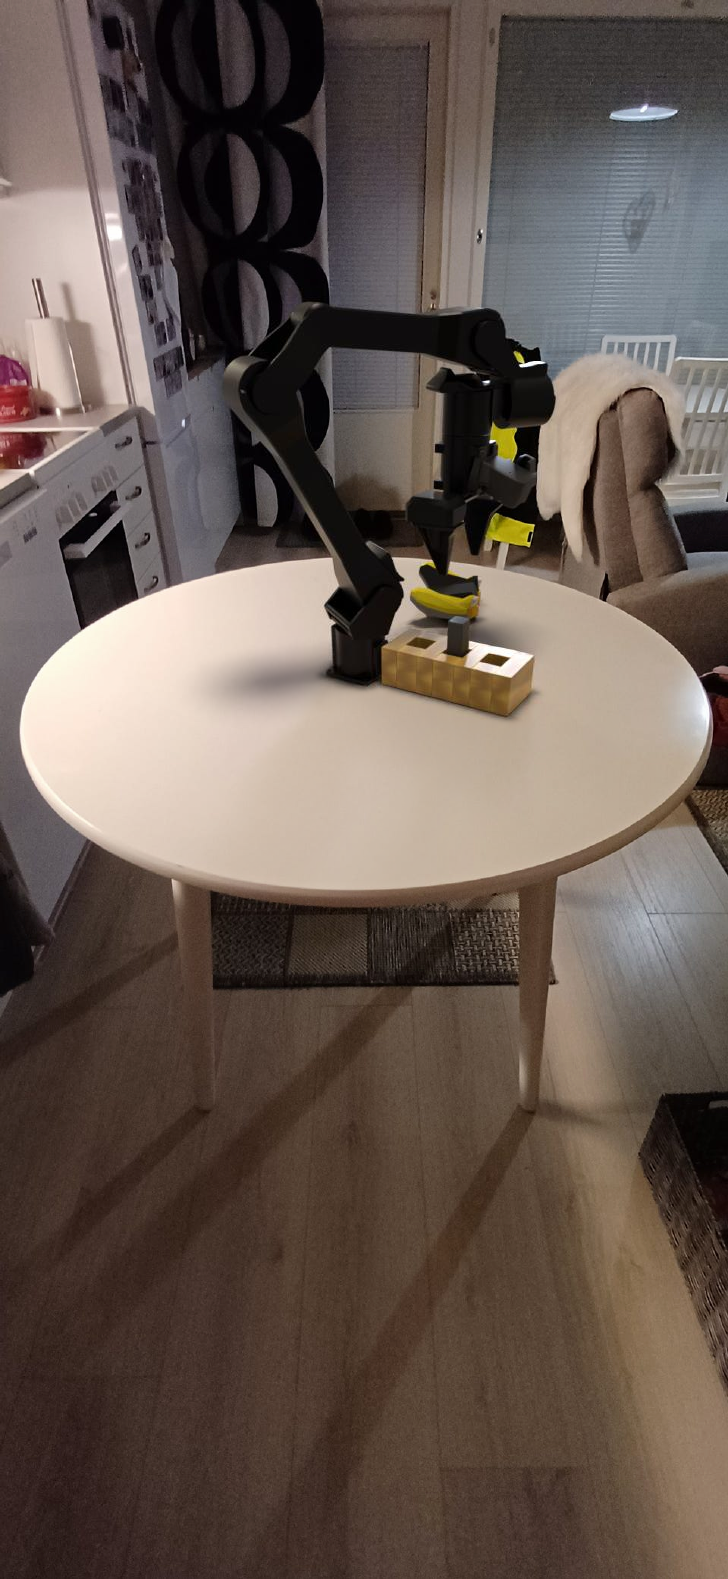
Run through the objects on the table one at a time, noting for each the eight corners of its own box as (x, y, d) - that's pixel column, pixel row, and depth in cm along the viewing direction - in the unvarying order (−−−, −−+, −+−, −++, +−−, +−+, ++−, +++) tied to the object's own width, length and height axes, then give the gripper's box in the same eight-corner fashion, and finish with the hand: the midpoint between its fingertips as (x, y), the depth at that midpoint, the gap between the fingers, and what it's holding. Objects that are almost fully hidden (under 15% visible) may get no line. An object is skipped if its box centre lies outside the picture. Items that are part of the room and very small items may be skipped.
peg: (444, 689, 97) (447, 621, 92) (452, 683, 98) (455, 615, 93) (459, 693, 96) (463, 624, 91) (466, 687, 97) (470, 618, 92)
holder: (381, 683, 98) (381, 647, 95) (409, 663, 103) (409, 627, 100) (507, 716, 91) (510, 677, 88) (530, 692, 96) (535, 655, 93)
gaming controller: (407, 627, 113) (476, 631, 112) (408, 591, 110) (478, 594, 109) (419, 592, 126) (481, 594, 124) (420, 558, 123) (484, 560, 121)
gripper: (496, 453, 81) (486, 598, 89) (560, 425, 94) (545, 554, 102) (403, 444, 86) (402, 582, 94) (476, 419, 99) (469, 542, 107)
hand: (459, 564), depth 99 cm, fingers open, 9 cm apart
